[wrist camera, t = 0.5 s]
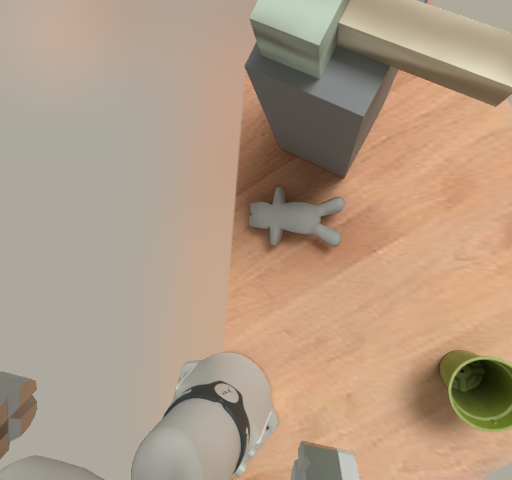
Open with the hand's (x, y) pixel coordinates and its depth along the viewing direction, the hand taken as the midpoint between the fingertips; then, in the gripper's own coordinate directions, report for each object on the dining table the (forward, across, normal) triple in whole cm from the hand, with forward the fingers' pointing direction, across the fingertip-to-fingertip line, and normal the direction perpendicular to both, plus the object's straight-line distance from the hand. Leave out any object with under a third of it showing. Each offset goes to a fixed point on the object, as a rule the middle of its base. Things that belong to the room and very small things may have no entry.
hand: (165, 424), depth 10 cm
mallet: (+25, +9, +18) cm, 32 cm away
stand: (+51, +8, +12) cm, 53 cm away
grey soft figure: (+47, +6, -4) cm, 48 cm away
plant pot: (+37, +35, -19) cm, 55 cm away
